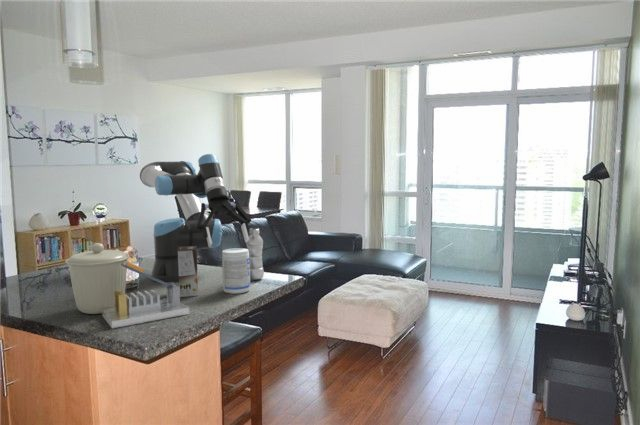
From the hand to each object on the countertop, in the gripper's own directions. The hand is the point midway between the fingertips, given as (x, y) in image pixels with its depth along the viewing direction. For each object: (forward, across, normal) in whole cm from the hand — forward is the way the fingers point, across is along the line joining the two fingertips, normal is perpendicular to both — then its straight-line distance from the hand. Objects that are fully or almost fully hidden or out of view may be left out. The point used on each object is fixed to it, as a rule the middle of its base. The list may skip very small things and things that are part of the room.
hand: (229, 243), depth 174 cm
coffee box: (+12, -15, +12) cm, 22 cm away
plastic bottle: (+9, +13, +18) cm, 24 cm away
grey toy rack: (+22, -32, -4) cm, 39 cm away
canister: (+14, -43, +7) cm, 46 cm away
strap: (+12, -31, -10) cm, 34 cm away
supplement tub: (+16, +1, +7) cm, 17 cm away
